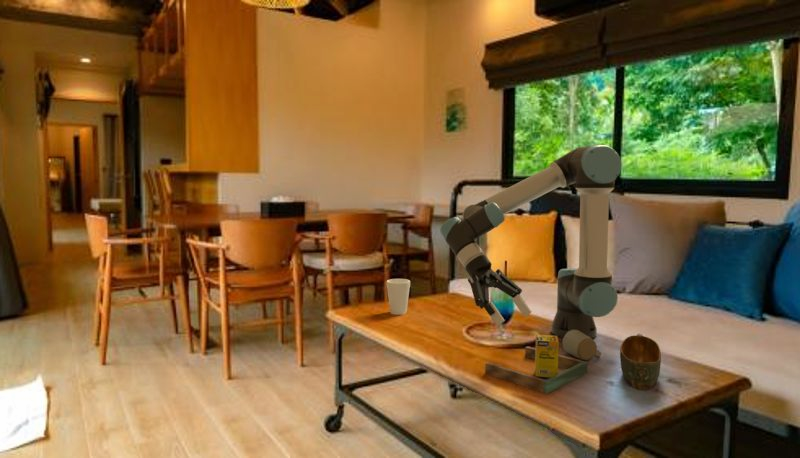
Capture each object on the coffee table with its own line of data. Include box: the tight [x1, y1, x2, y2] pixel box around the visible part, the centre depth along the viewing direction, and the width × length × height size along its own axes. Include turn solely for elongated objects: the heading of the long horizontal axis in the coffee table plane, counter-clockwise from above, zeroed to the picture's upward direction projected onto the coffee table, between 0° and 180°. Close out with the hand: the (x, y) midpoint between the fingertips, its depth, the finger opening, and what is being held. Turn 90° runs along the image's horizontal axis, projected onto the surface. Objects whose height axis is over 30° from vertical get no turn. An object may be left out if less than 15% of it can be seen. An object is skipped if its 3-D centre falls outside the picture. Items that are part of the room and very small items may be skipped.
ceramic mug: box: [562, 330, 602, 361], centre depth 168 cm, size 11×8×8 cm
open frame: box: [484, 346, 589, 395], centre depth 154 cm, size 20×21×3 cm
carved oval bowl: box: [619, 333, 662, 391], centre depth 150 cm, size 13×20×10 cm, turn 131°
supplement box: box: [534, 334, 560, 380], centre depth 152 cm, size 6×6×11 cm
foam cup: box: [386, 278, 411, 316], centre depth 220 cm, size 10×9×13 cm
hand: (515, 319), depth 158 cm, fingers open, 13 cm apart
